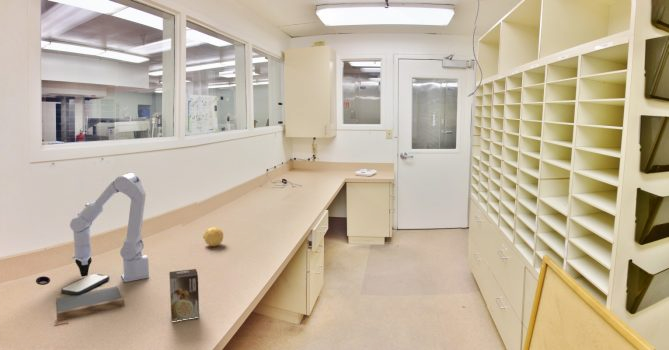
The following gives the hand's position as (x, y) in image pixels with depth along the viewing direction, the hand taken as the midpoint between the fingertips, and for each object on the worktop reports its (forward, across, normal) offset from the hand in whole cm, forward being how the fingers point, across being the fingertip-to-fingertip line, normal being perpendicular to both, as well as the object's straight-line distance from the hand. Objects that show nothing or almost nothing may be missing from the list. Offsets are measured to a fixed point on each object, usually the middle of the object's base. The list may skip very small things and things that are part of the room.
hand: (84, 275), depth 167 cm
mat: (+1, +24, 0) cm, 24 cm away
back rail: (+1, +34, 0) cm, 34 cm away
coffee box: (+1, +53, +26) cm, 59 cm away
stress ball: (+1, -13, +59) cm, 60 cm away
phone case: (+1, +9, 0) cm, 9 cm away
